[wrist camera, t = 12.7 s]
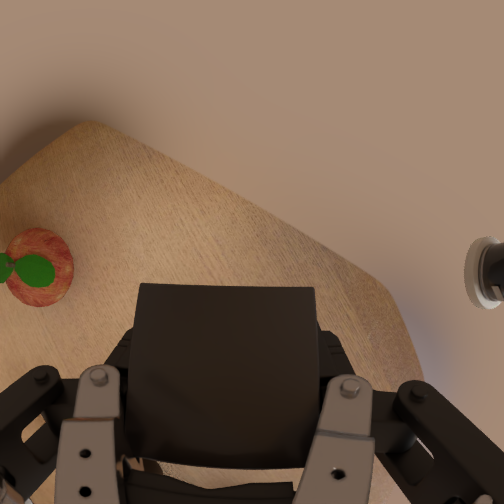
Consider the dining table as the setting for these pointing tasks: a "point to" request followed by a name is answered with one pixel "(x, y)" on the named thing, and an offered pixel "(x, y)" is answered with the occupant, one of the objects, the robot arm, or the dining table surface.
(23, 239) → the fruit
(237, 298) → the block
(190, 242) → the dining table surface
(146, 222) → the dining table surface
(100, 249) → the dining table surface
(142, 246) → the dining table surface
